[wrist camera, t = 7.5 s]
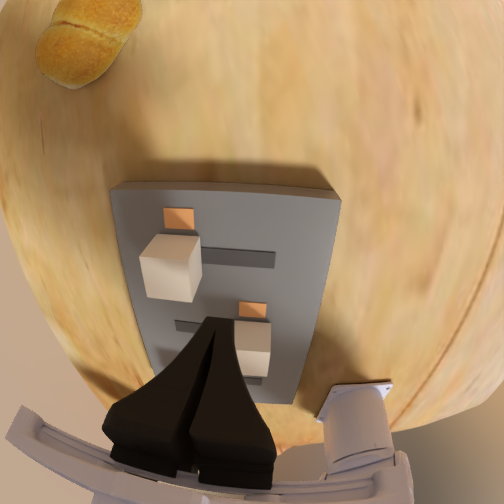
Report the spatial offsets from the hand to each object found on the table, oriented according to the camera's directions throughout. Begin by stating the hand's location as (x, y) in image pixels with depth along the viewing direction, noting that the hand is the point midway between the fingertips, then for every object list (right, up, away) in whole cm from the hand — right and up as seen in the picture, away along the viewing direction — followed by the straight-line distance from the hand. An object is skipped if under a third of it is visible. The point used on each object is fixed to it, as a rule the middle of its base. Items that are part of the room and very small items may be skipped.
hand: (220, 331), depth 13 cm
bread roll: (-10, +20, 0) cm, 22 cm away
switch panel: (-1, -1, +11) cm, 11 cm away
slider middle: (+1, -3, +9) cm, 9 cm away
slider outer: (-3, +4, +5) cm, 7 cm away
